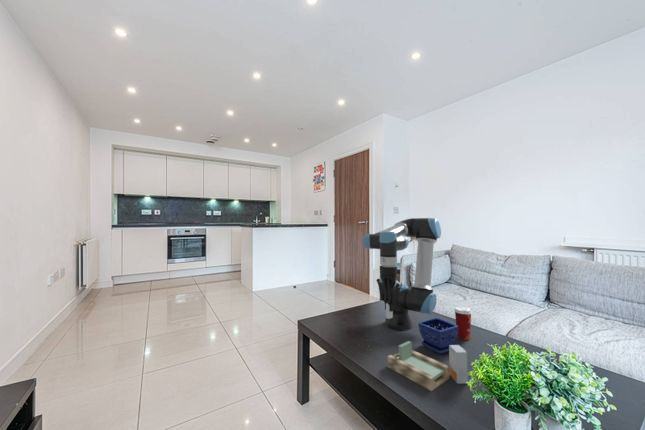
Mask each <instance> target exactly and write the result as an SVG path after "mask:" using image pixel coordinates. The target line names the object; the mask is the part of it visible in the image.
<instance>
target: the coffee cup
mask: <svg viewBox="0 0 645 430" xmlns="http://www.w3.org/2000/svg"><path fill="white" fill-rule="evenodd" d="M453 311H454V315H455V325H457V326H458V334H457V338H459V339H460V340H464V341H469V340H471V327H472V326H471V325H472V314H473V313H472V310H471V308H469V307H465V306H455V308H454V310H453Z"/></svg>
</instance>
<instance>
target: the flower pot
mask: <svg viewBox="0 0 645 430" xmlns="http://www.w3.org/2000/svg"><path fill="white" fill-rule="evenodd" d="M417 325H418V329H419V333H420V335H421V337H422V339H423V340H421V342H420V343H421V344H422V345H423V346H424V347H425V348H427V349H428V350H430V351H432V352H434V353H436V354H438V355H442V354H444V353H449V345H455V342H456V340H457V338H458V337H457V334H458V326H457V325H456V323H452V322H450V321H447V320H445V319H441V318H439V317H433V318H429V319H425V320H422V321H419V322H418V324H417Z"/></svg>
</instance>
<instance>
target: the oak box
mask: <svg viewBox="0 0 645 430" xmlns="http://www.w3.org/2000/svg"><path fill="white" fill-rule="evenodd" d="M398 356H399V352H397V353H394V354H393V355H392V354H389V355H387V367H388V369H390V370H392V371H395V373H398V374H400V375H402V376H404V377H405V378H406V379H409V380H410V381H412V382H415V383H416V384H417V385H419V386H421V387H423V388H425V389H427V390H429V391H430V392H432V391H434V390H435V389H437V388H438V387H440V386H441V385H442V384H443V383H445V382H446V381H448V380H449V379H450V377H451V375H450V365H447V364H445V363H443V362H440V361H439V360H437V359H434V358H431V357H429V356H427V355H424V354H423V353H421V352H418V351H416V350H414V349H412V356H415V357H417V358H419V359H421V360H423V361H425V362H428V363H430V364H432V365H434V366H436V367H438V368H440V369H443V370H444V374H442V375H441V376H439V377H438V378H437V379H435V380H434V376H432V375H430V374H428V373H426V372H424V371H422V370H420V369H418V368H416V367H414V366H412V365H410V364H408V363H406V362H404V361H402V360H400V359H398V358H396V357H398Z"/></svg>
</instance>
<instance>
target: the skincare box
mask: <svg viewBox="0 0 645 430" xmlns="http://www.w3.org/2000/svg"><path fill="white" fill-rule="evenodd" d="M448 354H449V356H448V357H449V359H448V360H449V361H448V362H449V365H448V366H450V377H451V378H452V379H453V380H454V381H455V383H456V384H458V385H459V384H467V383H466V382H467V381H469V380H468V379H469V378H468V377H469V376H468V352H467V351H466V349H465V348H463V347H462V346H460V344H454V345H449V351H448Z"/></svg>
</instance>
